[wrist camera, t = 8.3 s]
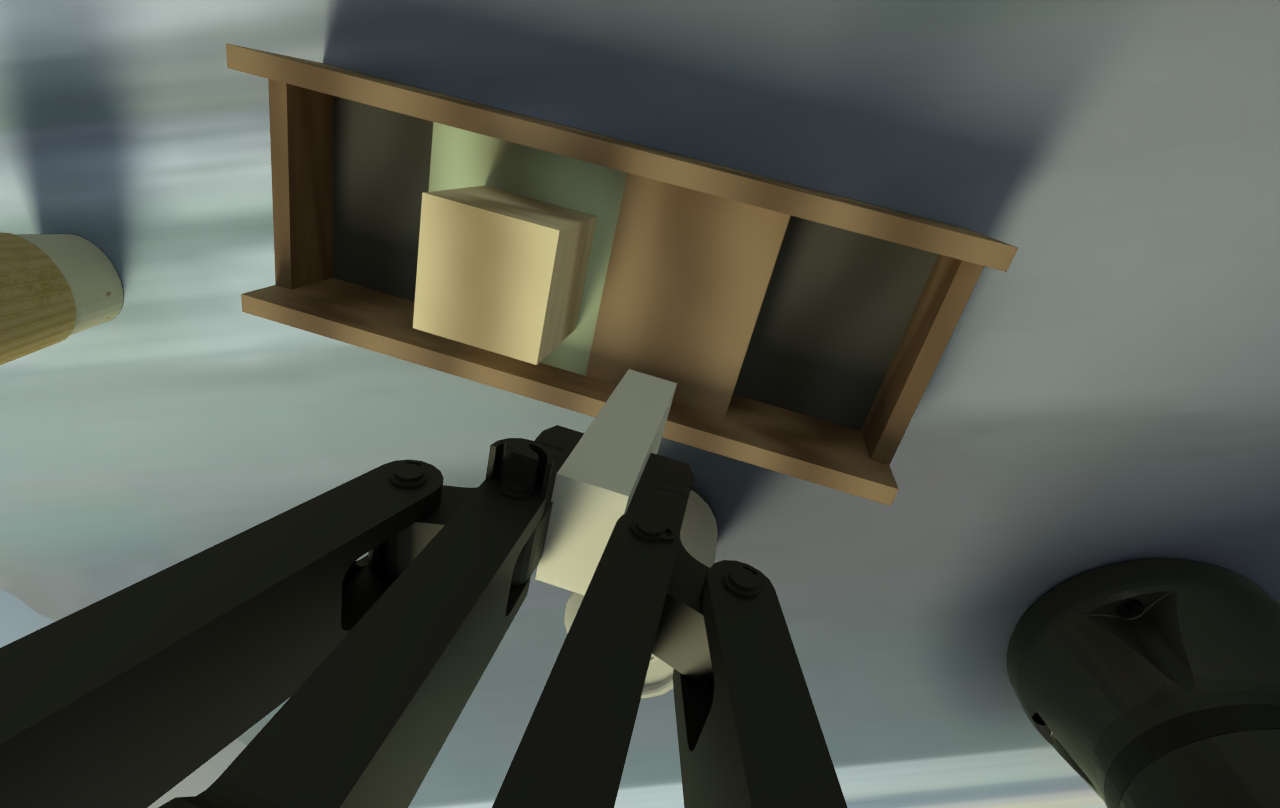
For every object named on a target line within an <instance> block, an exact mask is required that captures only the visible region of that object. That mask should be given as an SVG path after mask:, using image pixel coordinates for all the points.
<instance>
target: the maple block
mask: <svg viewBox="0 0 1280 808" xmlns="http://www.w3.org/2000/svg"><path fill="white" fill-rule="evenodd" d="M597 217H598V216H594V215H590V214H587V213H583V212H579V211H576V210H572V209H569V208H565V207H561V206H558V205H554V204H550V203H547V202H543V201H539V200H536V199H532V198H528V197H525V196H521V195H518V194H514V193H510V192H507V191H503V190H499V189H496V188H492V187H488V186H476V187H467V188H458V189H449V190H440V191H432V192H423V193H422V206H421V220H420V234H419V248H418V262H417V276H416V290H415V304H414V317H413V328H414V329H418V330H421V331H424V332H428V333H431V334H434V335H438V336H441V337H444V338H448V339H451V340H454V341H458V342H461V343H464V344H468V345H471V346H475V347H478V348H481V349H485V350H488V351H491V352H495V353H498V354H501V355H505V356H508V357H511V358H515V359H518V360H521V361H525V362H528V363H531V364H535V365H537V364H538V363H539V362H541V361H542V360H543V359H544V358H545V357H546V356H547V355H548V354H549V353H550V352H551V351H552V350H554V349H555V348H556V347H557V346H558V345H559V344H560V343H561V342H562V341H563V340H564V339H565V338H567V337H568V336H569V335H570V334H571V333H572V332H573V331H574V330H575V329H576V325H577V320H578V314H579V309H580V304H581V299H582V294H583V289H584V284H585V279H586V274H587V268H588V263H589V258H590V253H591V248H592V243H593V238H594V233H595V227H596V222H597Z"/></svg>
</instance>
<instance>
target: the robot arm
mask: <svg viewBox="0 0 1280 808" xmlns="http://www.w3.org/2000/svg"><path fill="white" fill-rule="evenodd" d="M676 385H677V383H674V382H671V381H668V380H664V379H661V378H657V377H654V376H651V375H647V374H644V373H640V372H637V371H634V370H630V369H629V370H628V371H627V372H626V374H625V375H624V377H623V378H622V380H621V381H620V383H619V384H618V386H617V387H616V388H615V390H614V391H613V393H612V394H611V396H610V397H609V399H608V400H607V401H606V403H605V404H604V406H603V407H602V409H601V410H600V412H599V413H598V415H597V416H596V417H595V419H594V420H593V422H592V423H591V425H590V426H589V428H588V429H587V430H586V432H585V433H581V432H577V431H574V430H571V429H568V428H565V427H561V426H558V425H557V426H554V427H552V428H549V429H547V430H544V431H542V432H541V434H540V435H539V436H538V437H537V438H536V440H535V441H532V440H527V439H522V438H508V439H503V440H499V441H497V442H495V443H493V444H492V445H491V446H490V453H489V460H488V467H487V474H486V480H485V481H484V482H483V483H482V484H481V485H480V486H479V487H477V488H463V487H453V486H444V485H443V476H442V474H441V472H440V470H438V469H437V468H436V467H434V466H433V465H431V464H428V463H425V462H422V461H417V460H416V461H415V460H400V461H393V462H390V463H387V464H384V465H382V466H380V467H378V468H375V469H373V470H371V471H369V472H367V473H365V474H363V475H361V476H359V477H357V478H355V479H352V480H350V481H348V482H346V483H344V484H342V485H340V486H338V487H336V488H334V489H332V490H330V491H327V492H325V493H323V494H321V495H319V496H317V497H315V498H313V499H311V500H309V501H307V502H304V503H302V504H300V505H298V506H296V507H294V508H292V509H290V510H288V511H286V512H284V513H281V514H279V515H277V516H275V517H273V518H271V519H269V520H267V521H265V522H263V523H261V524H259V525H256V526H254V527H252V528H250V529H248V530H246V531H244V532H242V533H240V534H238V535H236V536H233V537H231V538H229V539H227V540H225V541H223V542H221V543H219V544H217V545H215V546H213V547H211V548H208V549H206V550H204V551H202V552H200V553H198V554H196V555H194V556H192V557H190V558H188V559H185V560H183V561H181V562H179V563H177V564H175V565H173V566H171V567H169V568H167V569H165V570H162V571H160V572H158V573H156V574H154V575H152V576H150V577H148V578H146V579H144V580H142V581H140V582H137V583H135V584H133V585H131V586H129V587H127V588H125V589H123V590H121V591H119V592H117V593H114V594H112V595H110V596H108V597H106V598H104V599H102V600H100V601H98V602H96V603H94V604H91V605H89V606H87V607H85V608H83V609H81V610H79V611H77V612H75V613H73V614H71V615H69V616H66V617H64V618H62V619H60V620H58V621H56V622H54V623H52V624H50V625H48V626H46V627H44V628H41V629H40V630H37V631H35V632H33V633H31V634H29V635H27V636H25V637H23V638H21V639H19V640H16V641H14V642H12V643H10V644H8V645H6V646H4V647H2V648H0V808H147V807H148V806H150V805H151V804H152V803H154V802H155V801H156V800H158V799H159V798H160V797H161V796H163V795H164V794H165V793H166V792H168V791H169V790H170V789H172V788H173V787H174V786H175V785H177V784H178V783H179V782H181V781H182V780H183V779H185V778H186V777H187V776H189V775H190V774H191V773H192V772H194V771H195V770H196V769H198V768H199V767H200V766H201V765H203V764H204V763H205V762H207V761H208V760H209V759H210V758H212V757H213V756H214V755H216V754H217V753H218V752H219V751H221V750H222V749H223V748H225V747H226V746H227V745H229V744H230V743H231V742H233V740H235V739H236V738H238V737H239V736H240V735H242V734H243V733H244V732H245V731H247V730H248V729H249V728H251V727H252V726H253V725H255V724H256V723H257V722H258V721H260V720H261V719H262V718H264V717H265V716H266V715H267V714H269V713H270V712H271V711H273V710H274V709H275V708H277V707H278V706H279V705H280V704H282V703H283V702H284V701H286V700H287V699H288V698H289V697H290V699H289V700H288V701H287V702H286V703H285V704H284V705H283V706H282V708H281V709H280V710H279V711H278V712H277V713H276V714H275V715H274V716H273V718H272V719H271V720H270V721H269V722H268V723H267V724H266V725H265V726H264V728H263V729H262V730H261V731H260V732H259V733H258V734H257V735H256V737H255V738H254V739H253V740H252V741H251V742H250V743H249V744H248V745H247V747H246V748H245V749H244V750H243V751H242V752H241V753H240V754H239V756H238V757H237V758H236V759H235V760H234V761H233V762H232V763H231V765H230V766H229V767H228V768H227V769H226V770H225V771H224V772H223V773H222V775H221V776H220V777H219V778H218V779H217V780H216V781H215V782H214V783H213V784H212V785H211V786H210V787H209V788H208V789H207V790H205V791H204V792H202V793H201V794H199V795H197V796H195V797H181V798H180V797H179V798H174V799H172V800H171V801H169V802H167V803H166V804H164V805H162V806H161V807H159V808H408V806H409V805H410V803H411V801H412V799H413V797H414V796H415V794H416V792H417V790H418V788H419V787H420V785H421V783H422V781H423V780H424V778H425V776H426V774H427V772H428V771H429V769H430V767H431V765H432V763H433V762H434V760H435V758H436V756H437V755H438V753H439V751H440V749H441V747H442V746H443V744H444V742H445V740H446V738H447V737H448V735H449V733H450V731H451V730H452V728H453V726H454V724H455V722H456V721H457V719H458V717H459V715H460V714H461V712H462V710H463V708H464V706H465V705H466V703H467V701H468V699H469V697H470V696H471V694H472V692H473V690H474V689H475V687H476V685H477V683H478V681H479V680H480V678H481V676H482V674H483V672H484V671H485V669H486V667H487V665H488V664H489V662H490V660H491V658H492V656H493V655H494V653H495V651H496V649H497V647H498V646H499V644H500V642H501V640H502V639H503V637H504V635H505V633H506V631H507V630H508V628H509V626H510V624H511V622H512V621H513V619H514V617H515V615H516V614H517V612H518V610H519V608H520V606H521V605H522V603H523V601H524V599H525V597H526V596H527V592H528V588H529V583H530V578H531V575H532V573H533V572H534V570H535V568H536V566H537V565H538V569H537V574H536V579H537V580H540V581H543V582H546V583H549V584H552V585H555V586H558V587H560V588H563V589H566V590H569V591H572V592H575V593H578V594H581V595H584V598H583V600H582V602H581V605H580V607H579V609H578V611H577V614H576V616H575V618H574V621H573V623H572V625H571V628H570V630H569V632H568V634H567V637H566V639H565V641H564V644H563V646H562V648H561V651H560V653H559V655H558V657H557V660H556V662H555V664H554V667H553V669H552V671H551V673H550V676H549V678H548V680H547V683H546V685H545V687H544V690H543V692H542V694H541V696H540V699H539V701H538V703H537V706H536V708H535V710H534V712H533V715H532V717H531V719H530V722H529V724H528V726H527V729H526V731H525V733H524V735H523V738H522V740H521V742H520V745H519V747H518V749H517V752H516V754H515V756H514V758H513V761H512V763H511V765H510V768H509V770H508V772H507V774H506V777H505V779H504V781H503V784H502V786H501V788H500V791H499V793H498V795H497V797H496V800H495V802H494V804H493V807H492V808H614V805H615V801H616V797H617V793H618V789H619V785H620V781H621V777H622V772H623V768H624V764H625V760H626V756H627V752H628V748H629V744H630V740H631V736H632V732H633V728H634V724H635V720H636V716H637V712H638V708H639V703H640V699H641V695H642V691H643V687H644V683H645V679H646V675H647V671H648V667H649V663H650V659H651V655H652V654H653V655H655V656H656V657H658V658H659V659H661V660H662V661H664V662H665V663H667V664H668V665H670V666H671V667H672V668H674V670H673V677H672V678H673V689H674V700H675V710H676V721H677V732H678V742H679V753H680V764H681V774H682V785H683V796H684V806H685V808H847V805H846V802H845V799H844V796H843V793H842V790H841V787H840V784H839V781H838V778H837V775H836V772H835V769H834V766H833V763H832V760H831V757H830V754H829V751H828V748H827V745H826V742H825V739H824V736H823V733H822V730H821V727H820V724H819V721H818V718H817V715H816V712H815V709H814V706H813V703H812V700H811V697H810V694H809V691H808V688H807V685H806V682H805V679H804V676H803V673H802V670H801V667H800V664H799V661H798V658H797V655H796V652H795V649H794V646H793V643H792V640H791V637H790V634H789V631H788V628H787V625H786V622H785V618H784V615H783V612H782V609H781V606H780V603H779V600H778V597H777V594H776V591H775V589H774V587H773V585H772V584H771V582H770V580H769V579H768V578H767V577H766V576H765V575H764V574H763V573H761V572H760V571H759V570H757V569H755V568H754V567H752V566H750V565H748V564H745V563H742V562H738V561H729V560H723V561H720V562H717V563H714V564H713V565H712V566H711V567H710V568H709V567H707V566H706V565H704V564H702V563H701V562H699V561H698V560H696V559H695V558H693V557H692V556H691V555H690V554H689V553H688V552H687V551H686V549H685V548H684V546H683V545H682V542H681V539H680V531H681V527H682V523H683V519H684V514H685V510H686V506H687V502H688V498H689V494H690V490H691V486H692V482H693V478H694V476H693V473H692V471H691V469H690V467H689V464H686V463H683V462H680V461H676V460H673V459H670V458H667V457H663V456H660V455H657V453H658V450H659V446H660V442H661V439H662V435H663V432H664V428H665V425H666V421H667V417H668V414H669V410H670V407H671V403H672V400H673V396H674V392H675V389H676ZM367 552H368V555H367V556H365V557H364V558H362V559H361V560H358V561H356V560H357V559H358V558H359V557H361V556H362V555H364V554H365V553H367ZM538 563H539V564H538ZM1007 669H1008V674H1009V678H1010V681H1011V684H1012V686H1013V688H1014V690H1015V692H1016V695H1017V697H1018V699H1019V701H1020V703H1021V705H1022V707H1023V709H1024V711H1025V713H1026V715H1027V717H1028V718H1029V720H1030V721H1031V723H1032V724H1033V726H1034V727H1035V728H1036V729H1037V731H1038V732H1039V733H1040V734H1041V735H1042V736H1043V737H1044V738H1045V739H1046V740H1047V741H1048V742H1049V743H1050V744H1051V745H1052V746H1053V747H1054V748H1055V750H1056V751H1057V752H1058V753H1059V754H1060V755H1061V756H1062V757H1063V758H1064V759H1065V760H1066V761H1067V763H1068V764H1069V765H1070V766H1071V767H1072V768H1073V769H1074V770H1075V771H1076V772H1077V773H1078V774H1079V775H1080V776H1081V777H1082V778H1083V779H1084V780H1085V782H1086V783H1087V784H1088V785H1089V786H1090V787H1091V788H1092V789H1093V790H1094V791H1095V792H1096V793H1097V794H1098V795H1099V796H1100V797H1101V798H1102V800H1103V801H1104V802H1105V804H1106V806H1107V807H1108V808H1280V603H1278V602H1277V601H1276V600H1275V599H1274V598H1273V597H1272V596H1270V595H1269V594H1268V593H1267V592H1266V591H1265V590H1263V589H1262V588H1261V587H1260V586H1258V585H1257V584H1255V583H1254V582H1252V581H1250V580H1249V579H1247V578H1245V577H1243V576H1241V575H1239V574H1237V573H1235V572H1232V571H1230V570H1227V569H1224V568H1221V567H1218V566H1214V565H1211V564H1207V563H1201V562H1196V561H1189V560H1180V559H1144V560H1135V561H1127V562H1122V563H1117V564H1112V565H1108V566H1104V567H1101V568H1098V569H1094V570H1092V571H1089V572H1086V573H1083V574H1081V575H1079V576H1076V577H1074V578H1072V579H1070V580H1068V581H1066V582H1064V583H1062V584H1061V585H1059V586H1057V587H1056V588H1054V589H1053V590H1051V591H1050V592H1048V593H1047V594H1045V595H1044V596H1043V597H1042V598H1040V599H1039V600H1038V601H1037V602H1036V603H1035V604H1034V605H1033V606H1032V607H1031V608H1030V609H1029V610H1028V611H1027V612H1026V613H1025V614H1024V616H1023V617H1022V618H1021V620H1020V621H1019V623H1018V624H1017V626H1016V628H1015V630H1014V632H1013V634H1012V637H1011V639H1010V642H1009V646H1008V651H1007Z"/></svg>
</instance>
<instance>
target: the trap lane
mask: <svg viewBox="0 0 1280 808" xmlns="http://www.w3.org/2000/svg"><path fill="white" fill-rule="evenodd" d="M226 51H227V67H228V68H230V69H234V70H238V71H241V72H245V73H249V74H253V75H257V76H260V77H264V78H268V80H269V108H270V137H271V165H272V193H273V221H274V250H275V278H276V285H274V286H270V287H266V288H262V289H259V290H255V291H251V292H248V293H244V294H241V297H242V312H246V313H249V314H252V315H256V316H259V317H262V318H266V319H269V320H272V321H276V322H279V323H282V324H286V325H289V326H292V327H296V328H299V329H302V330H306V331H309V332H312V333H316V334H319V335H322V336H326V337H329V338H332V339H336V340H339V341H342V342H346V343H349V344H352V345H356V346H359V347H362V348H366V349H369V350H372V351H376V352H379V353H382V354H386V355H389V356H392V357H396V358H399V359H402V360H406V361H409V362H412V363H416V364H419V365H422V366H426V367H429V368H432V369H436V370H439V371H442V372H446V373H449V374H452V375H456V376H459V377H462V378H466V379H469V380H473V381H476V382H479V383H483V384H486V385H489V386H493V387H496V388H499V389H503V390H506V391H509V392H513V393H516V394H519V395H523V396H526V397H529V398H533V399H536V400H539V401H543V402H546V403H549V404H553V405H556V406H559V407H563V408H566V409H569V410H573V411H576V412H579V413H583V414H586V415H589V416H593V417H596V416H597V415H598V413H599V412H600V410H601V409H602V407H603V406H604V404H605V403H606V401H607V400H608V399H609V397H610V396H611V394H612V393H613V391H614V390H615V388H616V387H617V386H618V384H619V383H620V381H621V380H622V378H623V377H624V375H625V374H626V372H627V371H628V370H629V369H630V370H634V371H637V372H640V373H644V374H647V375H651V376H654V377H657V378H661V379H664V380H668V381H671V382H674V383H677V385H676V389H675V392H674V396H673V400H672V403H671V407H670V410H669V414H668V417H667V421H666V425H665V428H664V432H663V435H662V437H663V438H666V439H669V440H673V441H676V442H679V443H683V444H686V445H689V446H693V447H696V448H699V449H703V450H706V451H710V452H713V453H716V454H720V455H723V456H726V457H730V458H733V459H736V460H740V461H743V462H746V463H750V464H753V465H756V466H760V467H763V468H766V469H770V470H773V471H776V472H780V473H783V474H786V475H790V476H793V477H796V478H800V479H803V480H806V481H810V482H813V483H816V484H820V485H823V486H826V487H830V488H833V489H836V490H840V491H843V492H846V493H850V494H853V495H856V496H860V497H863V498H866V499H870V500H873V501H876V502H880V503H883V504H886V505H890V506H891V504H892V502H893V500H894V498H895V496H896V494H897V492H898V490H899V489H898V486H897V484H896V481H895V479H894V476H893V474H892V471H891V469H890V466H889V465H890V462H891V460H892V458H893V456H894V454H895V452H896V450H897V448H898V446H899V444H900V442H901V439H902V437H903V435H904V433H905V431H906V429H907V427H908V425H909V423H910V421H911V418H912V416H913V414H914V412H915V410H916V408H917V406H918V404H919V402H920V400H921V398H922V395H923V393H924V391H925V389H926V387H927V385H928V383H929V381H930V379H931V377H932V374H933V372H934V370H935V368H936V366H937V364H938V362H939V360H940V358H941V356H942V354H943V351H944V349H945V347H946V345H947V343H948V341H949V339H950V337H951V335H952V333H953V331H954V328H955V326H956V324H957V322H958V320H959V318H960V316H961V314H962V312H963V310H964V307H965V305H966V303H967V301H968V299H969V297H970V295H971V293H972V291H973V289H974V287H975V284H976V282H977V280H978V278H979V276H980V274H981V272H982V270H983V268H984V266H986V267H990V268H994V269H998V270H1001V271H1005V272H1007V270H1008V268H1009V266H1010V264H1011V262H1012V260H1013V258H1014V256H1015V254H1016V252H1017V250H1018V248H1017V247H1014V246H1012V245H1009V244H1006V243H1004V242H1001V241H998V240H996V239H993V238H990V237H988V236H985V235H982V234H980V233H977V232H974V231H972V230H969V229H965V228H961V227H957V226H953V225H949V224H945V223H942V222H938V221H934V220H930V219H926V218H922V217H918V216H914V215H910V214H907V213H903V212H899V211H895V210H891V209H887V208H883V207H879V206H875V205H872V204H868V203H864V202H860V201H856V200H852V199H848V198H844V197H840V196H837V195H833V194H829V193H825V192H821V191H817V190H813V189H809V188H805V187H802V186H798V185H794V184H790V183H786V182H782V181H778V180H774V179H771V178H767V177H763V176H759V175H755V174H751V173H747V172H743V171H739V170H736V169H732V168H728V167H724V166H720V165H716V164H712V163H708V162H704V161H701V160H697V159H693V158H689V157H685V156H681V155H677V154H673V153H669V152H666V151H662V150H658V149H654V148H650V147H646V146H642V145H638V144H634V143H631V142H627V141H623V140H619V139H615V138H611V137H607V136H603V135H599V134H596V133H592V132H588V131H584V130H580V129H576V128H572V127H568V126H564V125H561V124H557V123H553V122H549V121H545V120H541V119H537V118H533V117H529V116H526V115H522V114H518V113H514V112H510V111H506V110H502V109H498V108H495V107H491V106H487V105H483V104H479V103H475V102H471V101H467V100H463V99H460V98H456V97H452V96H448V95H444V94H440V93H436V92H432V91H428V90H425V89H421V88H417V87H413V86H409V85H405V84H401V83H397V82H393V81H390V80H386V79H382V78H378V77H374V76H370V75H366V74H362V73H358V72H355V71H351V70H347V69H343V68H339V67H335V66H331V65H327V64H323V63H319V62H314V61H309V60H304V59H299V58H294V57H290V56H285V55H280V54H275V53H270V52H265V51H260V50H255V49H250V48H246V47H241V46H236V45H231V44H226ZM476 186H488V187H492V188H496V189H499V190H503V191H507V192H510V193H514V194H518V195H521V196H525V197H528V198H532V199H536V200H539V201H543V202H547V203H550V204H554V205H558V206H561V207H565V208H569V209H572V210H576V211H579V212H583V213H587V214H590V215H594V216H598V217H597V222H596V227H595V233H594V238H593V243H592V248H591V253H590V258H589V263H588V268H587V274H586V279H585V284H584V289H583V294H582V299H581V304H580V309H579V314H578V320H577V325H576V329H575V330H574V331H573V332H572V333H571V334H570V335H569V336H568V337H567V338H565V339H564V340H563V341H562V342H561V343H560V344H559V345H558V346H557V347H556V348H555V349H554V350H552V351H551V352H550V353H549V354H548V355H547V356H546V357H545V358H544V359H543V360H542V361H541V362H539V363H538V364H537V365H535V364H531V363H528V362H525V361H521V360H518V359H515V358H511V357H508V356H505V355H501V354H498V353H495V352H491V351H488V350H485V349H481V348H478V347H475V346H471V345H468V344H464V343H461V342H458V341H454V340H451V339H448V338H444V337H441V336H438V335H434V334H431V333H428V332H424V331H421V330H418V329H414V328H413V317H414V304H415V290H416V276H417V262H418V248H419V234H420V220H421V206H422V193H423V192H432V191H440V190H449V189H458V188H467V187H476Z"/></svg>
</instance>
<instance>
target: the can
mask: <svg viewBox="0 0 1280 808" xmlns="http://www.w3.org/2000/svg"><path fill="white" fill-rule="evenodd" d="M680 539H681V542H682V545H683V546H684V548H685V549H686V551H687V552H688V553H689V554H690V555H691V556H692V557H693V558H695V559H696V560H698V561H699V562H701V563H702V564H704V565H706V566H707V567H709V568H710V567H711V566H712V565H713V564H714V562H715V554H716V547H717V539H718V531H717V524H716V519H715V517H714V515H713V513H712V511H711V509H710V507H709V505H708V504H707V503H706V502H705V501H704V500H703V499H702V498H701V497H700V496H699V495H698V494H697V493H696V492H694V491H692V490H690V494H689V498H688V502H687V506H686V510H685V514H684V519H683V523H682V527H681V531H680ZM583 598H584V595H581V594H578V593H575V592H572V593H571V596H570V598H569V600H568V602H567V605H566V612H565V620H564V622H565V626H566V630H567V634H568V632H569V630H570V628H571V625H572V623H573V621H574V618H575V616H576V614H577V611H578V609H579V607H580V605H581V602H582V600H583ZM673 670H674V668H672V667H671V666H670V665H668V664H667V663H665V662H664V661H662V660H661V659H659V658H658V657H656V656H655V655H653V654H652V655H651V659H650V663H649V667H648V671H647V675H646V679H645V683H644V687H643V691H642V695H641V698H649V697H653V696H658V695H662V694H664V693H666V692H668V691H670V690H671V689H673V678H672V677H673Z"/></svg>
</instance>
